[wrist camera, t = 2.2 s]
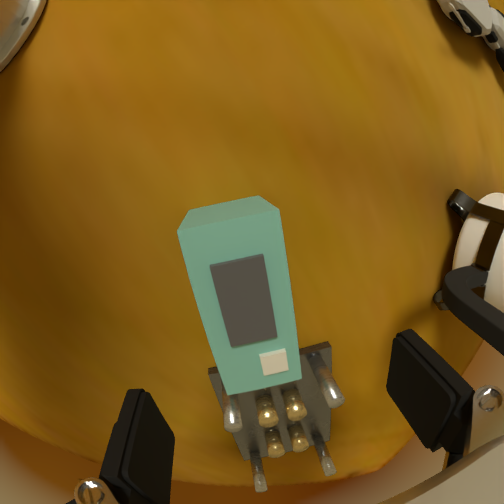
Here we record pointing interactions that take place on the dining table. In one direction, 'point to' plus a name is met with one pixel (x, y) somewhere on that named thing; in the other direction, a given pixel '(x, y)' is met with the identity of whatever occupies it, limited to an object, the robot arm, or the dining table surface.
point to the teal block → (243, 291)
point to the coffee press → (477, 268)
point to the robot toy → (478, 22)
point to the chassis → (284, 413)
